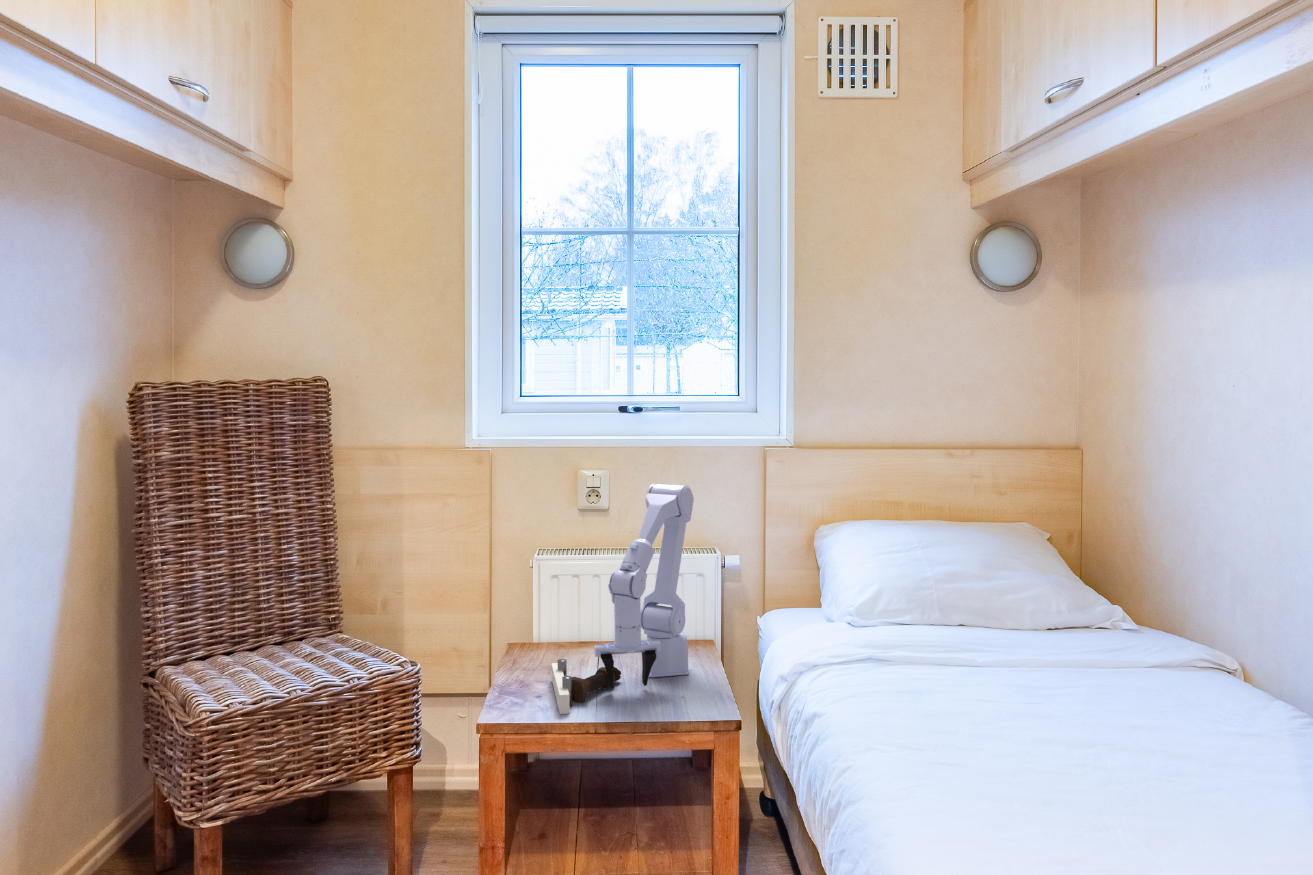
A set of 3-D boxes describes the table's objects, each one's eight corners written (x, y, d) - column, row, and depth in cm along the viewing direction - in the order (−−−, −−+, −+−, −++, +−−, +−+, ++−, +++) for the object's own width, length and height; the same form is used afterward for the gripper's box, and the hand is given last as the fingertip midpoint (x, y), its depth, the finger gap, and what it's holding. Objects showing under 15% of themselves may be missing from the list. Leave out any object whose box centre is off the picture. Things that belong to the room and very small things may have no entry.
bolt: (619, 689, 187) (577, 709, 175) (604, 675, 189) (561, 693, 177) (629, 670, 185) (588, 688, 173) (614, 655, 188) (572, 673, 175)
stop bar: (564, 679, 189) (564, 653, 188) (574, 712, 169) (574, 684, 169) (551, 680, 188) (551, 654, 188) (559, 714, 168) (559, 685, 168)
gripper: (597, 632, 174) (598, 694, 175) (663, 627, 177) (664, 689, 178) (592, 622, 181) (593, 683, 182) (657, 618, 184) (657, 677, 185)
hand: (628, 685), depth 180 cm, fingers open, 7 cm apart
